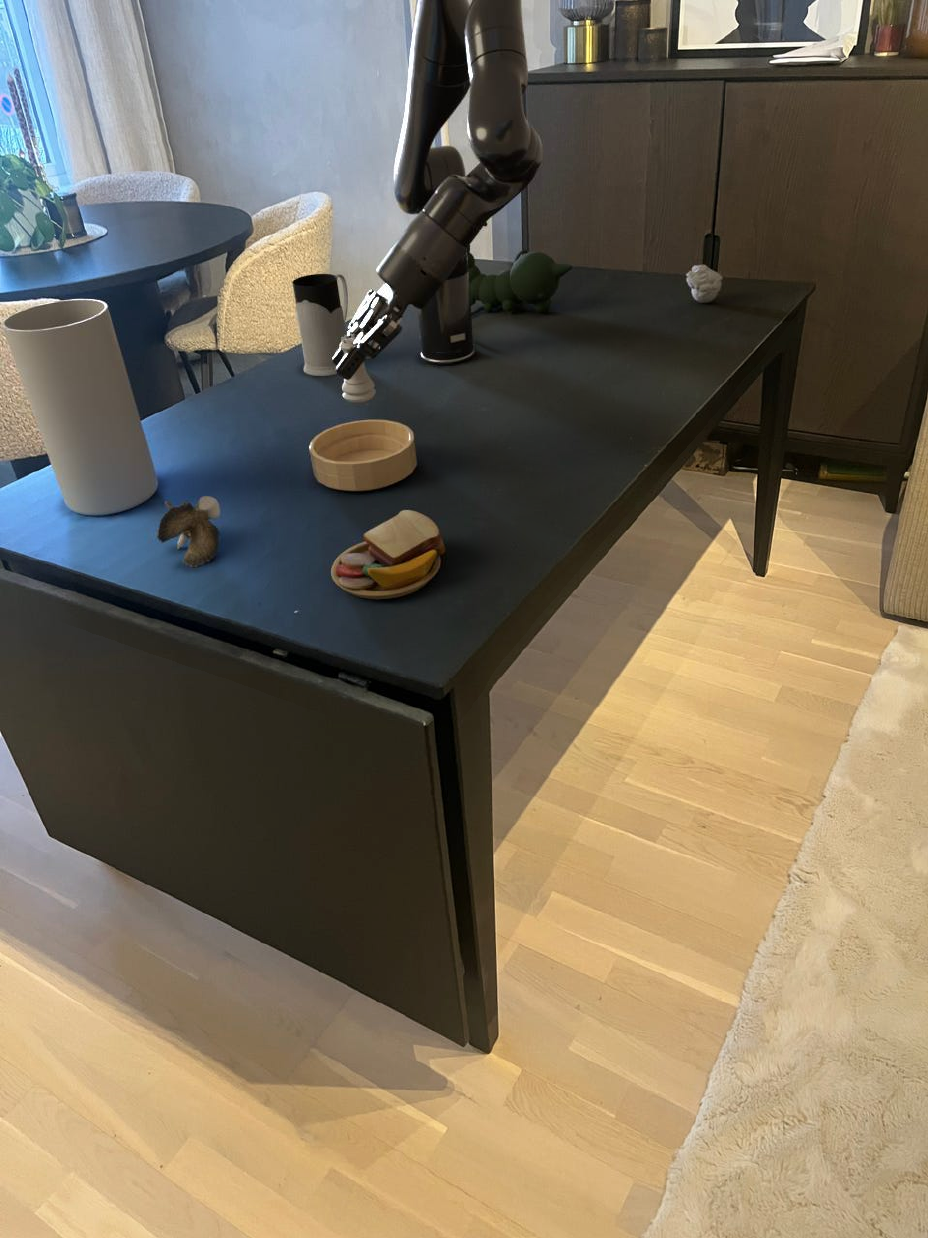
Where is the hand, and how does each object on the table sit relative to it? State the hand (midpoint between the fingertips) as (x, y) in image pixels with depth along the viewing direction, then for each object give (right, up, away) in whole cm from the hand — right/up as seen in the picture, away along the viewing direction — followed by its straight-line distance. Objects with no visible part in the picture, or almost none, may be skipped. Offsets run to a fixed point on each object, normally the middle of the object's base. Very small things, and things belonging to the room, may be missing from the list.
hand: (340, 370), depth 122 cm
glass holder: (-7, +14, +46) cm, 49 cm away
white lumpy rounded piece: (+62, +28, +58) cm, 89 cm away
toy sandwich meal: (+7, -27, -13) cm, 31 cm away
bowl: (+2, -12, +9) cm, 15 cm away
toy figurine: (+25, +28, +63) cm, 74 cm away
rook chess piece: (+2, -3, +3) cm, 5 cm away
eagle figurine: (-17, -24, -6) cm, 30 cm away
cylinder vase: (-32, -15, +8) cm, 37 cm away
